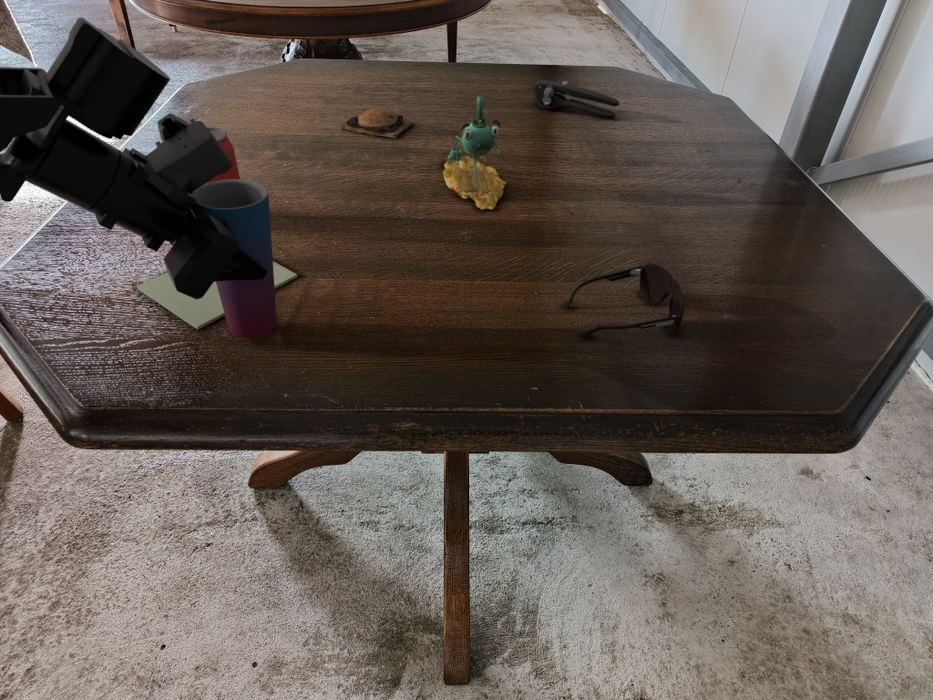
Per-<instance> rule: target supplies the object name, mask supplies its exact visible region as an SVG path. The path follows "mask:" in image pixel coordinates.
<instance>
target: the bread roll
mask: <svg viewBox="0 0 933 700" xmlns="http://www.w3.org/2000/svg"><path fill="white" fill-rule="evenodd" d="M345 123H346V125H344V130H346V131H350V132H357V133H360V134H361V133H362V134H363V133H365V134H368V135H370V136H379V137H380V136H381V137H386V138H391V139H396V138H397V137H398V136H399V135H401V133H403V132H404V131H407V129H408V128H409V127H410V126H412V122H411V121H410V120H405V119H404V115H403V114H400V115H398V114H397V112H395V111H392V110H391V109H387V108H383V107H379V106H374V107H373V106H372V107H369V108H366V109H364V110H363V111H362V112H360V115H359V116H357V117H356V116H351V117H350V118H349V119H348V120H346V122H345Z"/></svg>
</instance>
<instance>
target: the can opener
mask: <svg viewBox="0 0 933 700" xmlns="http://www.w3.org/2000/svg"><path fill="white" fill-rule="evenodd" d="M564 95H569V96H570V97H573V98H570V99H567V97H566V96H564ZM533 97H534V99H535V101H536V102H537V104H538V105H539V106H540V107H542V108H543V109H545V110H555V109H560V108H568V109H569V108H570V109H573V110H577V111H580V112H582V113H585V114H587V115H591V116H593V117H597V118H602V119H610V120H612V119H614V118H616V116H617V115H616V114H615V112H614V111H612V110H610V109H607V108H603V107H601V106H597V105H594V104H591V103H587V102H584V101H581V100H577V99H574V98H578V99H582V100H586V101H589V102H591V101H592V102H594V103H600V104H602V105H607V106H612V107H618V106H620V101H619V100H618V99H617V98H614V97H611V96H609V95H607V94H603V93H600V92H598V91H594V90H592V89H588V88H585V87H582V86H579V85H573V84H571V85H570V83H569V81H567V80H566V81H565V80H564V81H562V82H560V81H555V80H554V81H553V80H549V79H548V80H547V79H538V80H536V82H535V83H534V84H533Z"/></svg>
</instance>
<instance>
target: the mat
mask: <svg viewBox="0 0 933 700" xmlns="http://www.w3.org/2000/svg"><path fill="white" fill-rule="evenodd" d="M273 271H274V286H275V290H276V289H278V288H280V287H282V286H284V285H285V284H287V283H288V282H291V281H292V280H294V279H296V278H298V274H297V273H295V272H293V271H291V270H290V269H288V268H287V267H284V266H283V265H280V264H279V263H277V262H275V261H273ZM136 289H137V290H139V291H140V292H141V293H143V294H144V295H146V296H147V297H149V298H150V299H151V300H153V301H154V302H156V303H158V304H159V305H160V306H162V307H164V309H167V310H168V311H170V312H171V313H172V314H174V315H175V316H177V317H178V318H180V319H181V320H182V321H184V322H186V323H187V324H188V325H190V326H192V327H193V328H195V330H197V331H199V330H200V329H203V328H204V327H206V326H208V325H210V324H212V323H213V322H216V321H217V320H219V319H221V318H223V317H225V313H224V310H223V306H222V302H221V299H220V295H219V292H218V288H217V285H216V282H214V283H213V284H212V285H211V287H210V288H209V289H208V291H207V292H206V293H205V295H204V296H203V298H200V299H197V300H196V299H194V298H192V297H189V296H187V295H185V294H182V293H180V292H178V291H177V290H176V288H175V286H174V284H173V282H172V280H171V278H170V276H169V274H168V272H167V271H166V272H164V273H162V274H160V275H158V276H156V277H154V278H152V279H149V280H147V281H145V282H143V283H140V284H138V285H137V286H136Z"/></svg>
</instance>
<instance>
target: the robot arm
mask: <svg viewBox="0 0 933 700" xmlns="http://www.w3.org/2000/svg"><path fill="white" fill-rule="evenodd" d="M72 26H73V27H71V29H70V31H69V33H68V34H69V35H68V38H67V40H66V43H65V44H64V46H63V48H61V50H60V52H59V53H58V55H57V56H56V58H55V60H54V61H53V63H52V64H51V66H50V67H49V69H48V70H47V71H46V70H45V68H40V67H12V66H8V67H7V66H0V199H1V200H2V201H3V202H5V203H10V202H12V201H14V199H15V198H16V196H17V194H18V193H19V191H20V190H21V189H22V187H23V185H24V184H25V182H27V183H29V184H31V185H33V186H35V187H38V188H39V189H42V190H44V191H46V192H48V193H50V194H52V195H54V196H56V197H58V198H60V199H62V200H64V201H66V202H68V203H71V204H73V205H75V206H77V207H79V208H81V209H83V210H84V211H87V212H89V213H91V214H93V215H94V216H95V219H96V221H97V224H98V225H99V226H101V227H103V228H105V229H107V230H109V231H112V229H113V228H114V227H115V225H116V226H118V227H120V228H122V229H124V230H126V231H128V232H129V233H132V234H134V235H136V236H138V237H141V239H142V242H143V243H144V245H145V247H146V248H148V249H150V250H152V251H154V252H158V251H159V250H160V248H161V247H162V246H163V244H164V243H165V241H166V242H168V243H169V245H170V246H171V248H170V249H169V250H168V252H167V253H166V255H165V256H164V257H163V262H164V266H165V270H166V273H167V272H168V274H169V276H170V278H171V280H172V282H173V284H174V286H175V288H176V290H177V291H178V292H180V293H182V294H185V295H187V296H189V297H192V298H194V299H196V300H197V299H200V298H203V296H204V295H205V293H206V292H207V291H208V289H209V288H210V287H211V285H212V284H213V283H214V282H216V281H230V280H231V281H232V280H262V279H263V278H264V277H265V276H266V274H267V273H268V271H267V270H266V269H265V268H264V267H263V266H262V265H260V264H259V263H258V262H257V261H255V260H254V259H253V258H252V257H250V256H249V255H248V254H246V253H245V252H244V251H243V250H241V249H240V248H239V247H238V244H239V242H238V240H237V239H236V238H235V236H234V233H233V231H232V230H231V228H230V227H229V225H228V224H227V223H226V221H225V220H223V222H222V223H221V222H220V221H218V220H217V219H215V218H213V217H211V216H210V215H206V216H201V217H197V214H196V211H195V207H194V203H195V202H196V201H197V199H196V198H195V196H194V195H192V194H193V192H194V191H195V190H196V189H198V188H200V187H201V186H203V185H204V184H205V183H207V182H208V181H210V180H211V179H213V178H214V177H216V176H217V175H219V174H224V173H226V172H227V171H228V170H229V169H230V168H231V167H232V165H233V161H232V160H231V158H230V157H229V156H228V154H227V153H226V152H225V150H224V149H223V148H222V146H221V145H220V144H219V142H218V141H217V140H216V138H215V137H214V136H213V134H212V133H211V132H210V131H209V129H208V128H207V127H208V126H207V125H206V124H205V123H204V122H203V121H201V120H195V119H194V118H191V119H189V121H186V120H185V119H182V118H181V117H179V116H177V115H175V114H173V113H171V112H170V113H168V114H166V115H165V116H163V117H162V118H160V119H159V120H157V128H158V132H159V136H160V139H161V141H159V140H158V141H157V142H155V146H156V148H154V149H153V150H152V151H150V152H149V153H148V154H147V155H146V154H144V153H143V152H140V151H139V150H137V149H135V148H133V147H132V148H131V149H129V148H127V147H125V148H124V149H123V151H122V150H120V149H119V148H117V147H116V146H114V145H111V144H109V143H108V142H106V141H105V140H103V139H102V138H99V137H98V136H96V135H94V134H93V133H91V132H89V131H87V130H86V129H85V128H87V129H88V130H90V131H92V132H94V133H96V134H97V135H99V136H101V137H103V138H105V139H110V140H112V139H113V138H116V139H117V140H120V141H121V140H122V138H123V137H124V136H128V137H132V136H133V135H134V134H135V132H136V130H137V129H138V128H139V126H140V125H141V123H142V122H143V120H144V119H145V117H146V116H147V114H148V113H149V111H151V108H152V107H153V106H154V105H155V103H156V101H157V100H158V98H159V97H160V96H161V94H162V93H163V91H164V90H165V88H166V87H167V86H168V84H169V83H170V81H171V77H170V76H169V75H168V74H167V73H166V72H164V71H163V70H162V69H161V68H160V67H158V66H157V65H156V64H155V63H154V62H152V61H151V60H150V59H149V58H147V57H146V56H145V55H144V54H142V53H141V52H139V51H138V50H136V48H134V47H132V45H130V44H129V43H127V42H126V41H124V40H123V39H121V38H119V39H118V38H116V37H114V36H112V34H109V33H108V32H107V31H105V30H103V29H101V28H99V27H98V26H97V27H96V26H95V25H93V24H92V23H91V22H90V21H88V20H87V19H86V18H84V17H78V18H77V20H76V21H75V22H74V24H73V25H72ZM68 117H70V118H71V119H73V120H74V121H76V122H78V123H79V124H81V125H82V126H84V127H85V128H82V127H80V126H78V125H77V124H75V123H74V122H72V121H70V120H69V119H68ZM4 150H5V151H4ZM3 151H4V152H3ZM1 152H3V153H1Z"/></svg>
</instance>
